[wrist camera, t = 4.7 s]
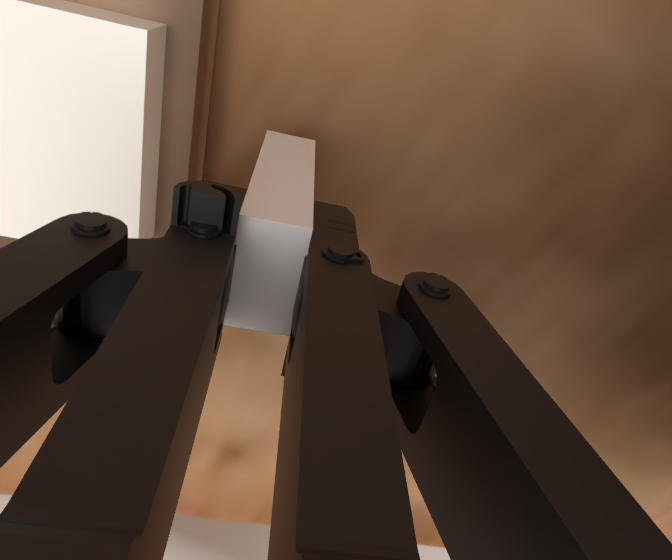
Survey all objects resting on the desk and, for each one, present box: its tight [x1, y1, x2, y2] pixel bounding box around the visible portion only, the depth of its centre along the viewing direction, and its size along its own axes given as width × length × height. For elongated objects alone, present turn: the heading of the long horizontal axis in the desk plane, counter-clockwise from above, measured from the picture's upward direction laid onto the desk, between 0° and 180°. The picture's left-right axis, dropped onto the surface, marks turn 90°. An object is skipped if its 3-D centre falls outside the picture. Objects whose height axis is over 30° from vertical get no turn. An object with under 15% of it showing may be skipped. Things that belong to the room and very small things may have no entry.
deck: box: [0, 0, 220, 248], centre depth 18 cm, size 12×14×3 cm
